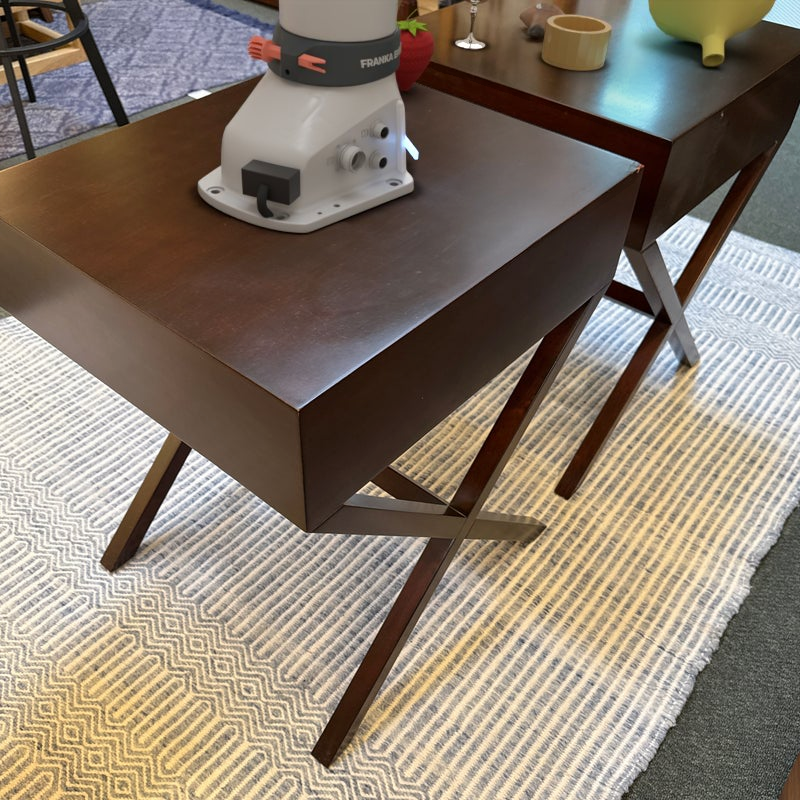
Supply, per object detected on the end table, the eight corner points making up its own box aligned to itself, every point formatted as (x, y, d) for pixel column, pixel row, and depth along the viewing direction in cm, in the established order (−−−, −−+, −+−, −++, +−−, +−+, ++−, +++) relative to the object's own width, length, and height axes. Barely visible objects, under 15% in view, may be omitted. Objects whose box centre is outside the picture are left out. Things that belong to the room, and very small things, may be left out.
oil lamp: (502, 34, 132) (533, 49, 127) (503, 7, 129) (535, 22, 124) (547, 20, 135) (579, 35, 130) (549, -6, 132) (582, 8, 127)
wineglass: (466, 36, 127) (475, -53, 120) (497, 45, 124) (509, -45, 117) (442, 43, 124) (450, -48, 116) (474, 53, 121) (484, -39, 113)
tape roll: (588, 75, 116) (596, 37, 113) (530, 60, 120) (536, 23, 117) (613, 60, 122) (621, 23, 119) (557, 46, 126) (563, 10, 123)
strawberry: (439, 87, 109) (447, 5, 103) (413, 104, 104) (419, 19, 97) (399, 78, 111) (404, -4, 105) (371, 94, 106) (375, 9, 99)
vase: (727, -125, 113) (728, -3, 109) (806, -61, 123) (810, 54, 119) (623, -45, 129) (620, 65, 124) (700, 6, 138) (701, 110, 134)
